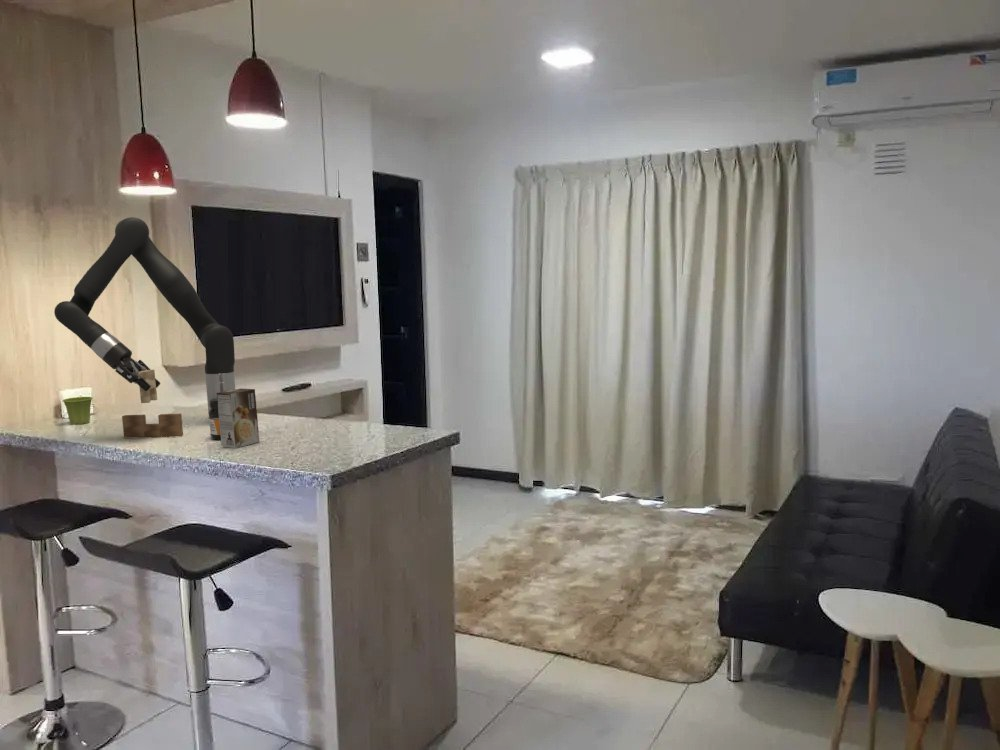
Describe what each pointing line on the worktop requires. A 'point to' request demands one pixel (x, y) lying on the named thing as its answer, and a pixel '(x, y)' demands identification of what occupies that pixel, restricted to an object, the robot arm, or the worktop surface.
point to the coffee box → (238, 417)
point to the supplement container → (214, 419)
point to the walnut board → (152, 426)
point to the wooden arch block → (151, 393)
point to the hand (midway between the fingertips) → (153, 387)
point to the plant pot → (78, 409)
